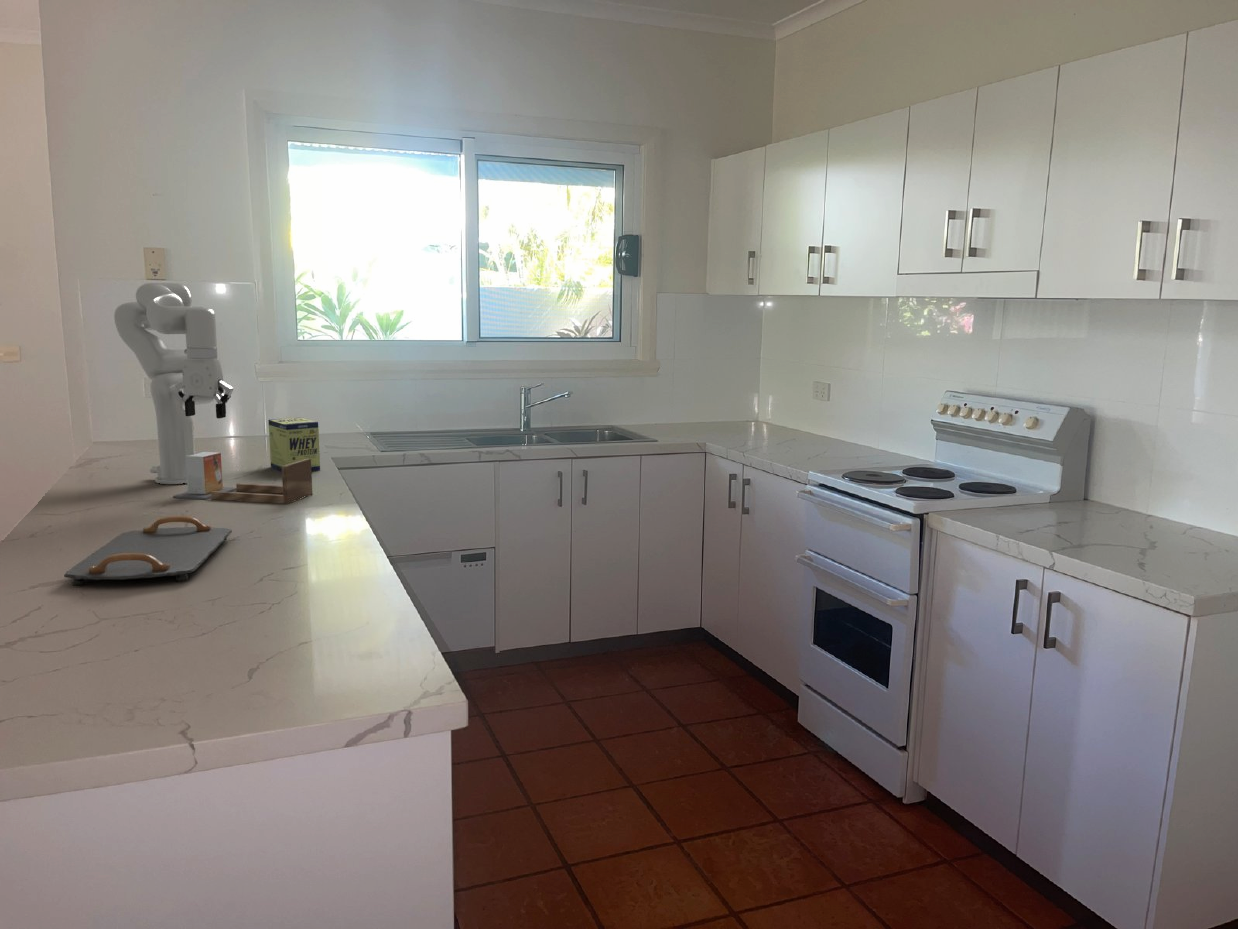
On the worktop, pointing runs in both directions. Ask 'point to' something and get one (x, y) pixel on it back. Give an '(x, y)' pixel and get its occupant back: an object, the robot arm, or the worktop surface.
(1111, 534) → the worktop surface
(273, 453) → the protein box
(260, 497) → the lane rack
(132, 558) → the serving board
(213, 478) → the small box
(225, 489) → the mat
